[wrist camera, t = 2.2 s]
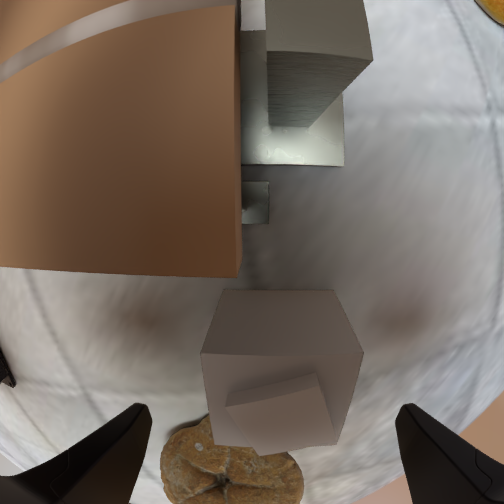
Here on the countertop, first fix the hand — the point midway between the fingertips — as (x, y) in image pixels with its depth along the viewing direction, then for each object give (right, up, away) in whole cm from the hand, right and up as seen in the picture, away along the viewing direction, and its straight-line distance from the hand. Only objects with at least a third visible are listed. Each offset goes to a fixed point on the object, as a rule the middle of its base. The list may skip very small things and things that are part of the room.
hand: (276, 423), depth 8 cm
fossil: (-2, -7, +8) cm, 11 cm away
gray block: (0, +2, +5) cm, 6 cm away
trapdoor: (-9, +14, 0) cm, 17 cm away
